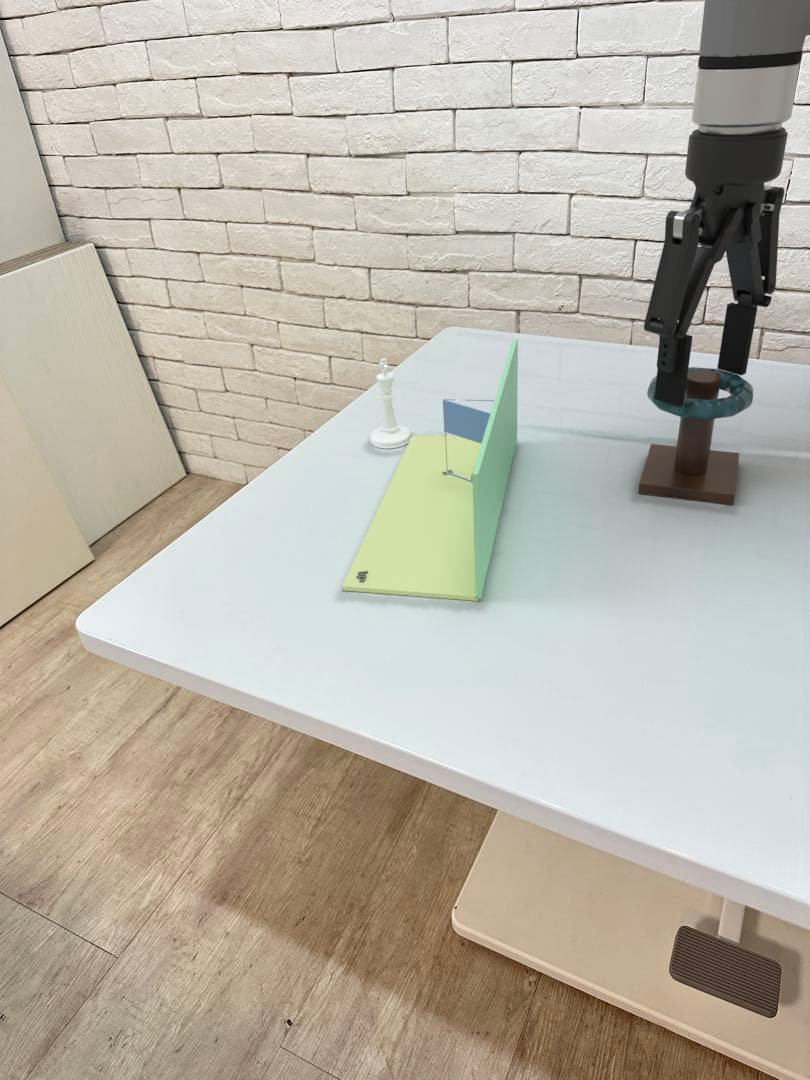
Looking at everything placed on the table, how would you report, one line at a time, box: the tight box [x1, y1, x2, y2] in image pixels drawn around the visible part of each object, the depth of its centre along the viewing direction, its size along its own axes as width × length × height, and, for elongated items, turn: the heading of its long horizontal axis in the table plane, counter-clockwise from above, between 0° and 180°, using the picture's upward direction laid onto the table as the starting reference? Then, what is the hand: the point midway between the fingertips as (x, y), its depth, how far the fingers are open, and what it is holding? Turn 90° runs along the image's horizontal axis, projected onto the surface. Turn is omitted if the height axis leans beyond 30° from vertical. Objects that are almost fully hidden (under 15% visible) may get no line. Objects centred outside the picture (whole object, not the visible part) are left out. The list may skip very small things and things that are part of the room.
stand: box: [637, 370, 740, 506], centre depth 79 cm, size 9×9×11 cm
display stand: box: [341, 337, 519, 602], centre depth 78 cm, size 30×12×12 cm, turn 167°
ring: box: [646, 366, 754, 420], centre depth 77 cm, size 10×10×2 cm
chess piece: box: [369, 357, 412, 450], centre depth 92 cm, size 5×5×10 cm
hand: (701, 385), depth 77 cm, fingers closed on ring, 9 cm apart
